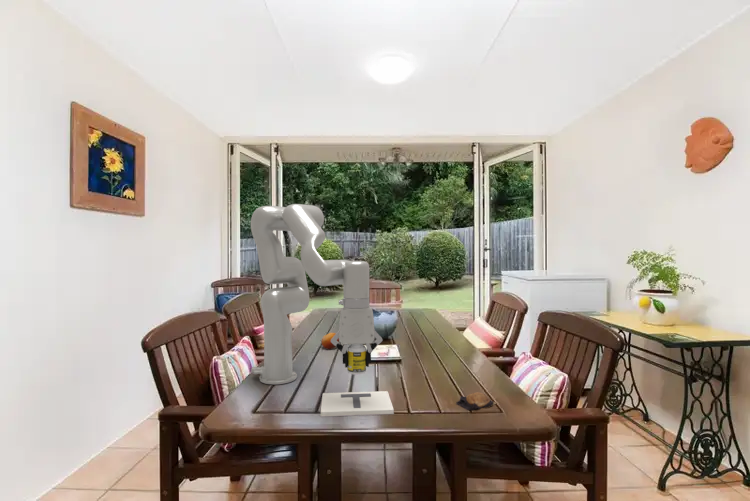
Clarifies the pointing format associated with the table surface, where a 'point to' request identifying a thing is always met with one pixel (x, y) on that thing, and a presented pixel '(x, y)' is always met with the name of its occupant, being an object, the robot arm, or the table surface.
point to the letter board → (356, 403)
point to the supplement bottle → (356, 359)
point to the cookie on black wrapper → (475, 402)
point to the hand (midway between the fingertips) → (356, 365)
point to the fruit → (328, 341)
